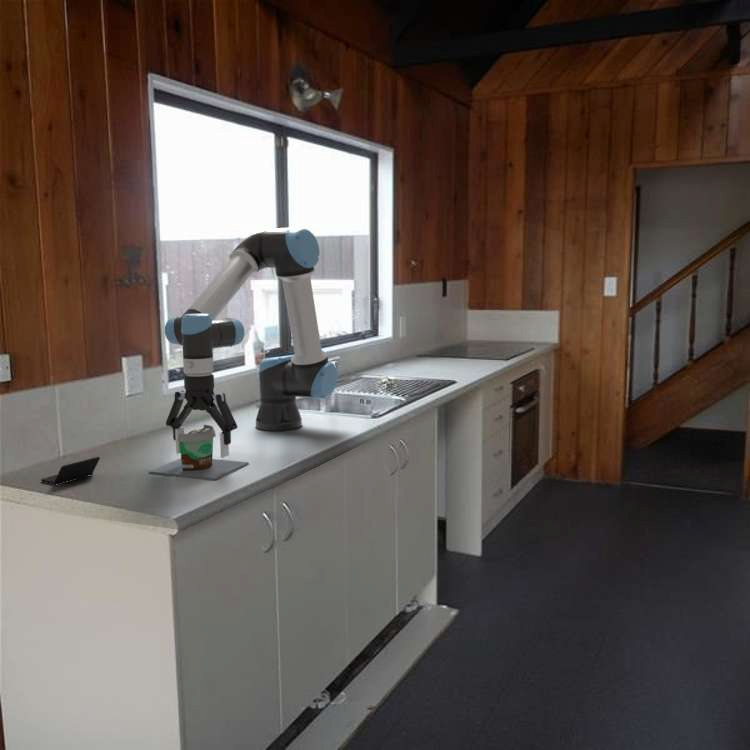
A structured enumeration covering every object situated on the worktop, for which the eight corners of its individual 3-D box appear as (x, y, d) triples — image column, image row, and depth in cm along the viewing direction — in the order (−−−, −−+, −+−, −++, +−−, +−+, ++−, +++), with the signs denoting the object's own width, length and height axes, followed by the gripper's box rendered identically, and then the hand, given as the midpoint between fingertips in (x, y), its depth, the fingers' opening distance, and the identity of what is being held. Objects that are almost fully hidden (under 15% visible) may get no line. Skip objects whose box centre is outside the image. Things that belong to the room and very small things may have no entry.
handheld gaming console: (71, 465, 193) (84, 439, 189) (91, 483, 192) (104, 457, 188) (36, 483, 183) (49, 456, 179) (57, 502, 182) (70, 475, 178)
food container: (199, 474, 188) (197, 435, 186) (178, 472, 190) (177, 433, 188) (226, 462, 199) (224, 425, 197) (206, 460, 201) (205, 424, 200)
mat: (185, 458, 206) (185, 456, 206) (248, 464, 199) (248, 462, 199) (148, 473, 191) (148, 471, 191) (215, 480, 184) (215, 478, 184)
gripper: (149, 374, 192) (153, 453, 195) (233, 378, 183) (236, 462, 186) (167, 370, 199) (171, 447, 202) (248, 374, 190) (251, 454, 193)
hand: (202, 454), depth 194 cm, fingers open, 13 cm apart
